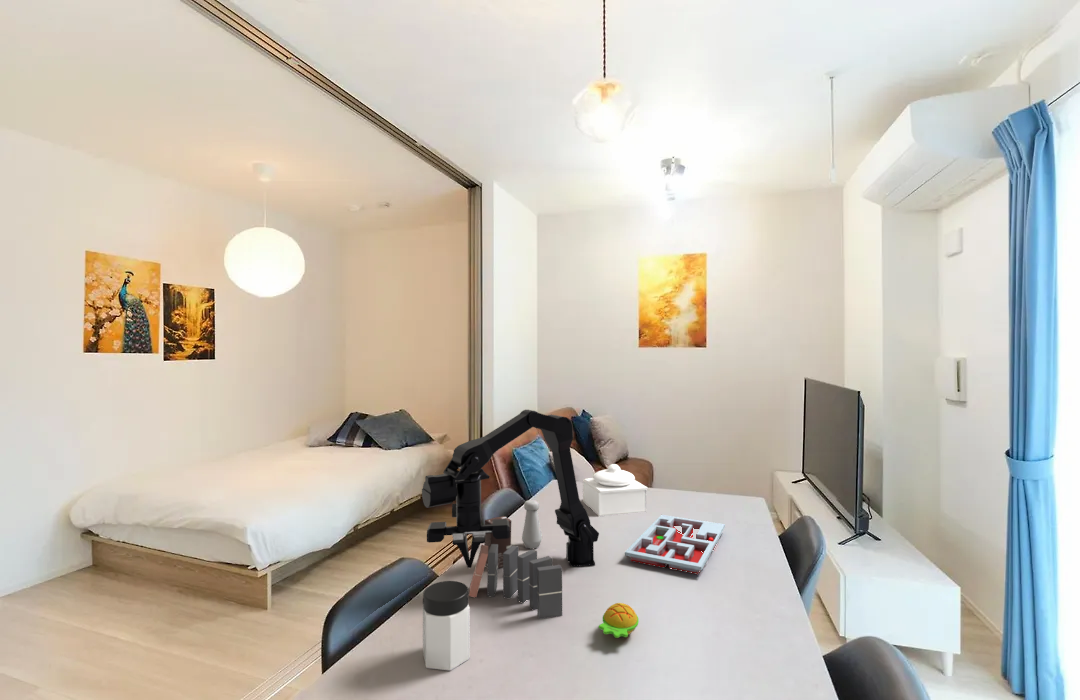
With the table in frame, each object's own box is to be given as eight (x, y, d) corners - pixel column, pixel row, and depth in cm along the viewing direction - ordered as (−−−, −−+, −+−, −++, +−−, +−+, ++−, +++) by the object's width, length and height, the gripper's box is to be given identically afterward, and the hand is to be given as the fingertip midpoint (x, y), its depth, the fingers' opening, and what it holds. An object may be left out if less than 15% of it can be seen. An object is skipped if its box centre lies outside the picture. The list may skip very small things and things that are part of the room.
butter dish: (582, 502, 185) (582, 459, 185) (627, 498, 189) (627, 457, 189) (599, 517, 167) (598, 470, 168) (647, 513, 171) (647, 467, 172)
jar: (450, 637, 96) (450, 575, 96) (479, 653, 91) (479, 588, 91) (412, 659, 89) (411, 592, 89) (440, 678, 84) (440, 607, 84)
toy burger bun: (643, 627, 99) (643, 600, 99) (628, 654, 90) (627, 624, 90) (610, 619, 102) (610, 593, 102) (593, 644, 93) (592, 616, 93)
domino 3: (518, 589, 116) (518, 546, 116) (509, 599, 111) (509, 554, 111) (512, 588, 116) (512, 545, 116) (503, 597, 112) (502, 553, 112)
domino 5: (552, 603, 109) (552, 558, 109) (533, 610, 106) (533, 563, 106) (548, 600, 110) (548, 555, 110) (529, 607, 107) (529, 561, 107)
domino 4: (537, 594, 113) (537, 551, 113) (523, 603, 109) (522, 558, 109) (531, 592, 114) (531, 549, 114) (517, 601, 110) (517, 556, 110)
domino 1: (476, 587, 117) (488, 546, 117) (476, 597, 112) (488, 554, 112) (470, 585, 117) (481, 544, 117) (469, 596, 112) (481, 552, 112)
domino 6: (562, 615, 104) (562, 567, 104) (539, 619, 102) (539, 570, 103) (560, 611, 105) (559, 564, 105) (537, 615, 104) (537, 567, 104)
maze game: (701, 580, 120) (701, 567, 120) (624, 564, 130) (624, 552, 130) (725, 534, 151) (725, 524, 151) (661, 524, 160) (661, 514, 160)
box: (491, 571, 125) (491, 524, 125) (483, 565, 129) (483, 519, 129) (512, 566, 128) (512, 519, 129) (503, 560, 132) (503, 515, 132)
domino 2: (497, 586, 117) (498, 544, 117) (494, 596, 112) (495, 552, 112) (490, 586, 117) (491, 544, 117) (487, 596, 112) (488, 552, 112)
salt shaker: (544, 543, 143) (544, 499, 144) (538, 551, 138) (538, 504, 138) (526, 541, 145) (525, 497, 145) (518, 548, 140) (518, 502, 140)
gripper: (507, 488, 123) (508, 551, 123) (431, 491, 121) (432, 555, 121) (509, 502, 112) (510, 570, 112) (426, 505, 110) (426, 575, 110)
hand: (469, 567), depth 114 cm, fingers closed
